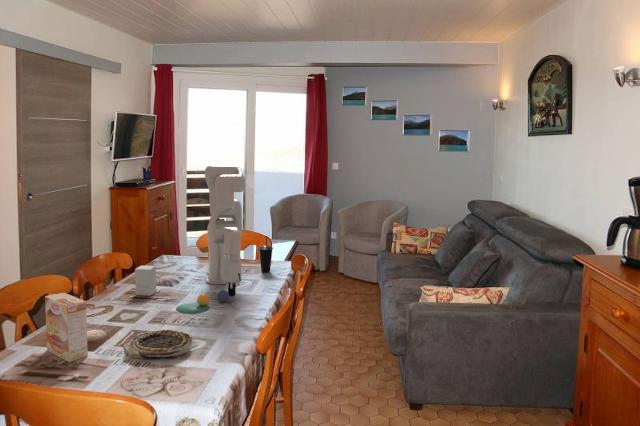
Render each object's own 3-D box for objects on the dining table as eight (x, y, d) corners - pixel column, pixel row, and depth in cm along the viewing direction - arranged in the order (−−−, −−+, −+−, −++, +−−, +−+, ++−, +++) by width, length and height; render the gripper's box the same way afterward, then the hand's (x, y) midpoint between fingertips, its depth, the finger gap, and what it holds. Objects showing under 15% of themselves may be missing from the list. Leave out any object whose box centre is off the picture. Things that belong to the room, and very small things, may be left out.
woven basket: (172, 331, 213) (172, 319, 212) (218, 352, 196) (218, 338, 195) (104, 352, 191) (104, 339, 190) (149, 377, 174) (149, 362, 173)
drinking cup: (266, 274, 301) (266, 238, 298) (255, 271, 305) (256, 236, 302) (275, 271, 307) (276, 236, 304) (265, 269, 311) (265, 234, 309)
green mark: (170, 307, 239) (170, 307, 239) (197, 301, 249) (197, 301, 249) (188, 315, 230) (188, 315, 230) (215, 308, 240) (215, 308, 240)
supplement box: (156, 291, 262) (156, 265, 261) (150, 296, 255) (149, 269, 253) (141, 290, 263) (141, 265, 261) (135, 295, 256) (134, 268, 254)
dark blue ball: (224, 288, 253) (221, 299, 253) (216, 288, 248) (213, 299, 249) (233, 292, 250) (229, 303, 250) (225, 292, 245) (221, 304, 246)
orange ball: (205, 302, 247) (195, 305, 244) (204, 290, 246) (194, 294, 242) (212, 305, 244) (202, 308, 240) (211, 293, 243) (201, 296, 239)
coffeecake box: (46, 350, 190) (43, 296, 187) (66, 344, 196) (64, 291, 193) (68, 362, 181) (66, 305, 178) (88, 356, 186) (87, 300, 184)
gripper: (215, 255, 254) (215, 293, 257) (235, 261, 244) (235, 301, 247) (228, 253, 260) (228, 290, 262) (248, 258, 249) (248, 298, 252)
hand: (231, 295), depth 254 cm, fingers closed
